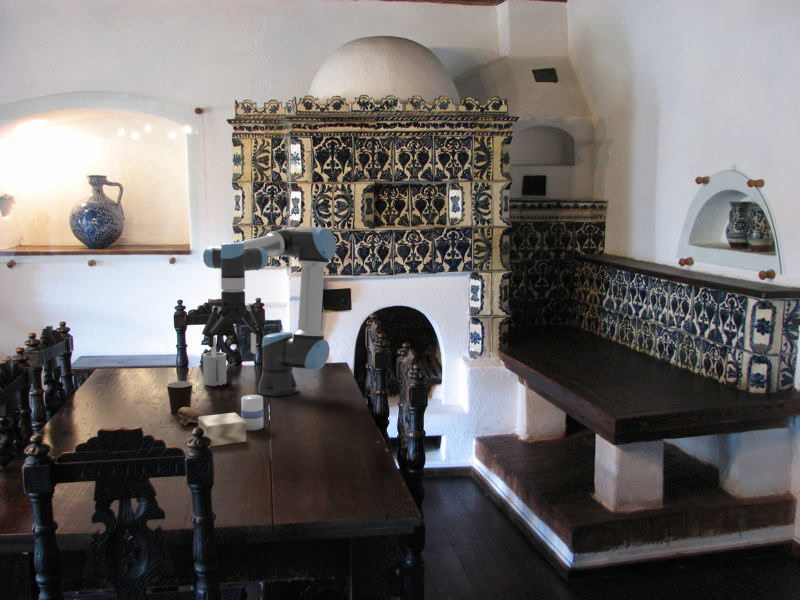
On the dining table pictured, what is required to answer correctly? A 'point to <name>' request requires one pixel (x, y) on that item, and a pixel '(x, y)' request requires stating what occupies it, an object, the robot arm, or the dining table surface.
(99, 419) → the dining table surface
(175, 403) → the coffee mug
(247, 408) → the white blue-banded canister
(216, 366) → the cup
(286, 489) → the dining table surface
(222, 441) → the birch block
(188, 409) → the mushroom
